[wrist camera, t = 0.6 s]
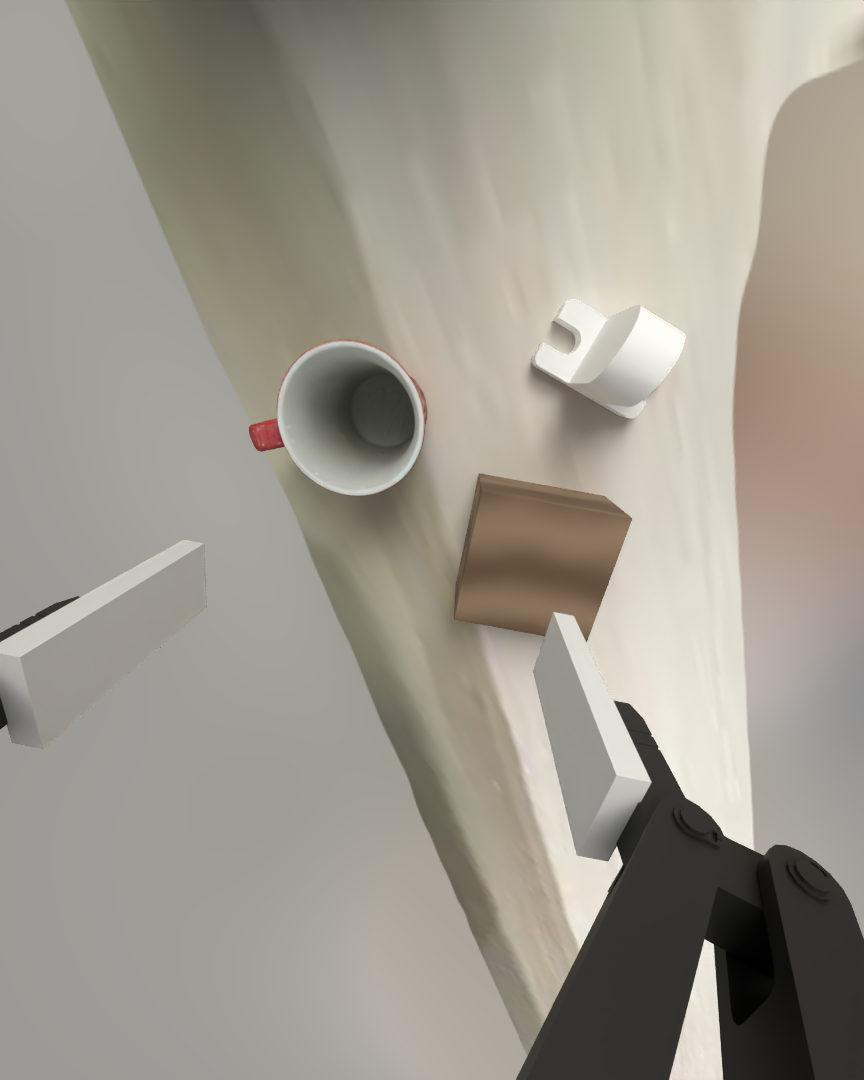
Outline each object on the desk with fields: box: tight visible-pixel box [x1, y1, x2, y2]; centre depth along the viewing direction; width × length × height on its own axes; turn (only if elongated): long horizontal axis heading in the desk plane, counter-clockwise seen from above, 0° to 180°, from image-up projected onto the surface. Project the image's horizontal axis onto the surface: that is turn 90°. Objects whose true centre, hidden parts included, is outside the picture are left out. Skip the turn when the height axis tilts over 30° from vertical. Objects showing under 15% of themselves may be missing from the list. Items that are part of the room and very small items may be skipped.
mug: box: [249, 340, 427, 496], centre depth 31 cm, size 13×9×14 cm
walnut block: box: [454, 474, 632, 642], centre depth 37 cm, size 12×12×7 cm
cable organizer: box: [532, 299, 685, 419], centre depth 29 cm, size 5×10×10 cm, turn 63°
